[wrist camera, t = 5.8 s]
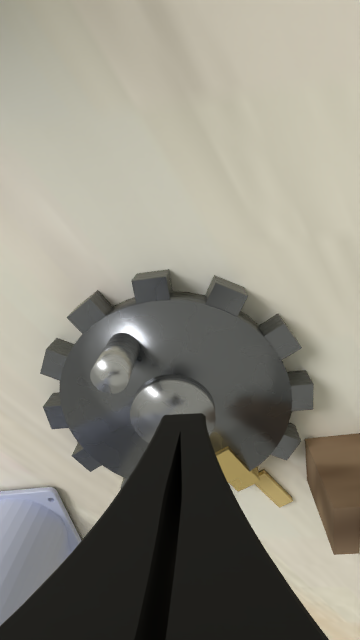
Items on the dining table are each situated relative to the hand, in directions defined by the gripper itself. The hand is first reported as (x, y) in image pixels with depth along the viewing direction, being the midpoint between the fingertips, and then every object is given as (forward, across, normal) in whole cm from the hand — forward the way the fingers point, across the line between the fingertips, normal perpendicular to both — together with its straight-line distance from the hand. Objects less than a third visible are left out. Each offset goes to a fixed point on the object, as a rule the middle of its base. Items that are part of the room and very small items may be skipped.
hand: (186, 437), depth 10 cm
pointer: (+9, -5, +14) cm, 17 cm away
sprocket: (+9, +2, +5) cm, 10 cm away
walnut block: (+9, -9, +11) cm, 17 cm away
